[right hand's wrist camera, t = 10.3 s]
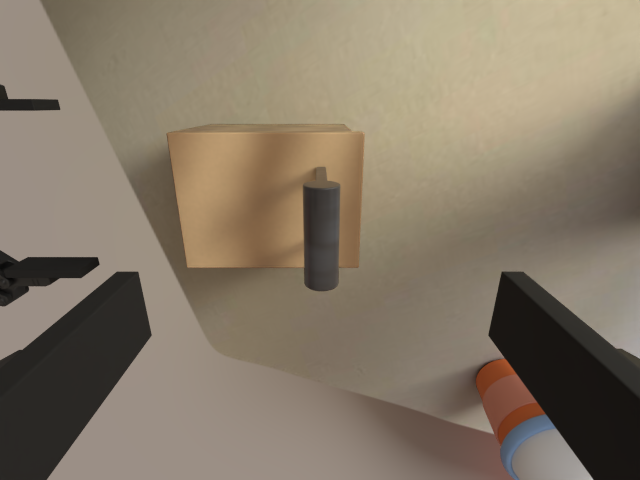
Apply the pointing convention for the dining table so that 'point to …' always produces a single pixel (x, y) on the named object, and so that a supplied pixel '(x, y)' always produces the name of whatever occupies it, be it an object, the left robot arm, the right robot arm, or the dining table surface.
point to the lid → (270, 200)
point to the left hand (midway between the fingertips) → (70, 193)
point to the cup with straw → (524, 429)
